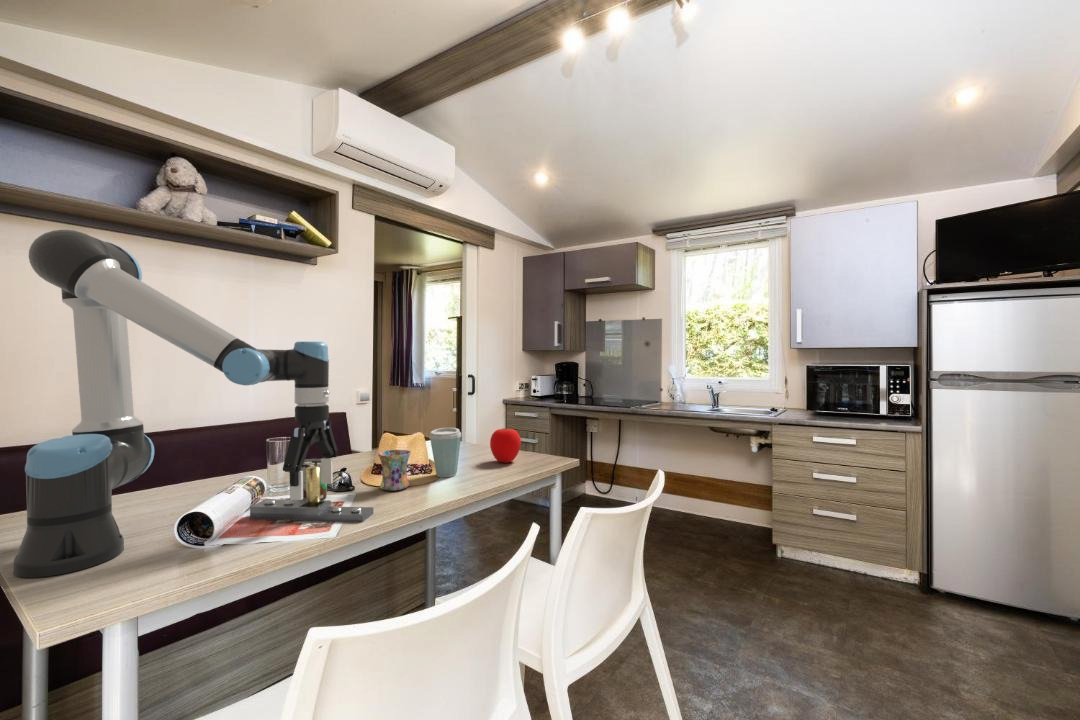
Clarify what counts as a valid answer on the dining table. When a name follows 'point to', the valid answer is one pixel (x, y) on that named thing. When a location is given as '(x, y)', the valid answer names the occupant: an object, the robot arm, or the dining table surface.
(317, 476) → the pin
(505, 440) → the red apple
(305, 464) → the food container
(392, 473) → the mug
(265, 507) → the grey studded plate
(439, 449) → the disposable coffee cup
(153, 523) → the dining table surface
